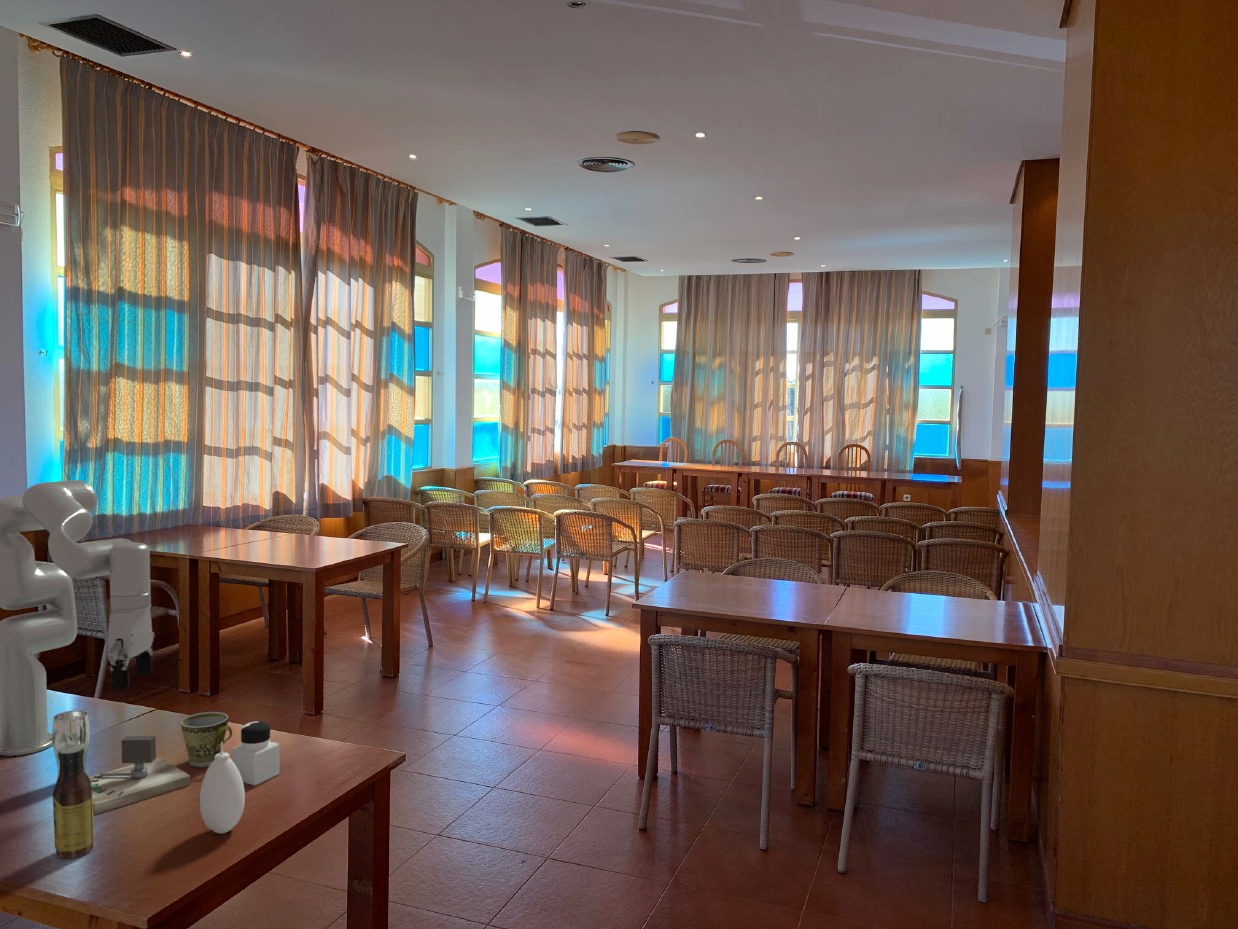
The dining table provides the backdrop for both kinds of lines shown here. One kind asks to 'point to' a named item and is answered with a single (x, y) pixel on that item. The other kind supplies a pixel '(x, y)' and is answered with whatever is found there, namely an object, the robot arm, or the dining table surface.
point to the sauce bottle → (73, 805)
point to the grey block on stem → (137, 755)
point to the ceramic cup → (204, 736)
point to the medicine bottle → (256, 754)
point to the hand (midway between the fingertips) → (133, 681)
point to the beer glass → (71, 732)
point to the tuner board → (135, 785)
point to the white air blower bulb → (222, 794)
